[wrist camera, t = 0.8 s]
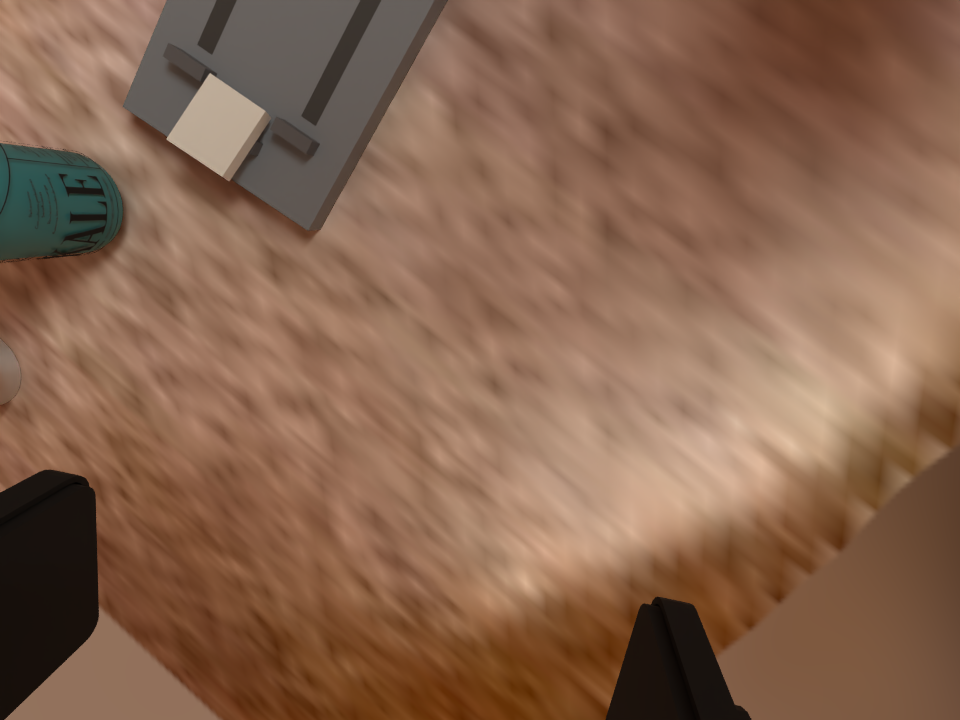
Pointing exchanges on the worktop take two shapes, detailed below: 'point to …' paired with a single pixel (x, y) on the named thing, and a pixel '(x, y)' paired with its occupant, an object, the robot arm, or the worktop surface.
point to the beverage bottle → (54, 203)
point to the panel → (287, 83)
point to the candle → (8, 374)
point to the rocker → (219, 127)
